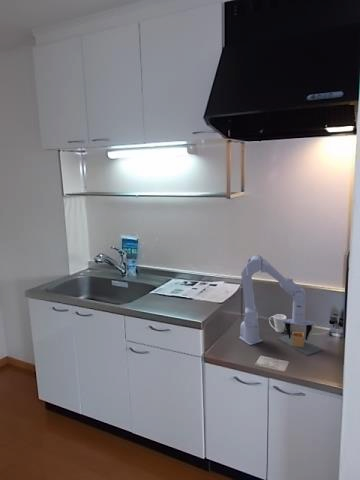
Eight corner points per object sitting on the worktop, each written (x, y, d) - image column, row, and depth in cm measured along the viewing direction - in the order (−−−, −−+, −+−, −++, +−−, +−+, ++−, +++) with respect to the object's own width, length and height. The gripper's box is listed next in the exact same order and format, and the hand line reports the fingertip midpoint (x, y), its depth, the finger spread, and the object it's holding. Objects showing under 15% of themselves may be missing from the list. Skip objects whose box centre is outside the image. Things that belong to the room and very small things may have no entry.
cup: (282, 334, 197) (282, 320, 195) (265, 329, 204) (265, 315, 202) (289, 330, 202) (289, 316, 200) (272, 325, 209) (272, 311, 207)
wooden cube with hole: (292, 346, 184) (292, 336, 183) (292, 340, 189) (292, 331, 188) (303, 347, 182) (304, 337, 181) (303, 341, 187) (303, 332, 186)
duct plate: (277, 339, 193) (277, 333, 192) (292, 334, 197) (292, 328, 197) (307, 356, 175) (307, 349, 175) (322, 350, 180) (322, 344, 179)
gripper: (314, 310, 184) (313, 336, 187) (283, 308, 188) (283, 333, 191) (314, 316, 177) (313, 342, 180) (282, 313, 182) (282, 339, 185)
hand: (297, 338), depth 185 cm, fingers open, 7 cm apart
